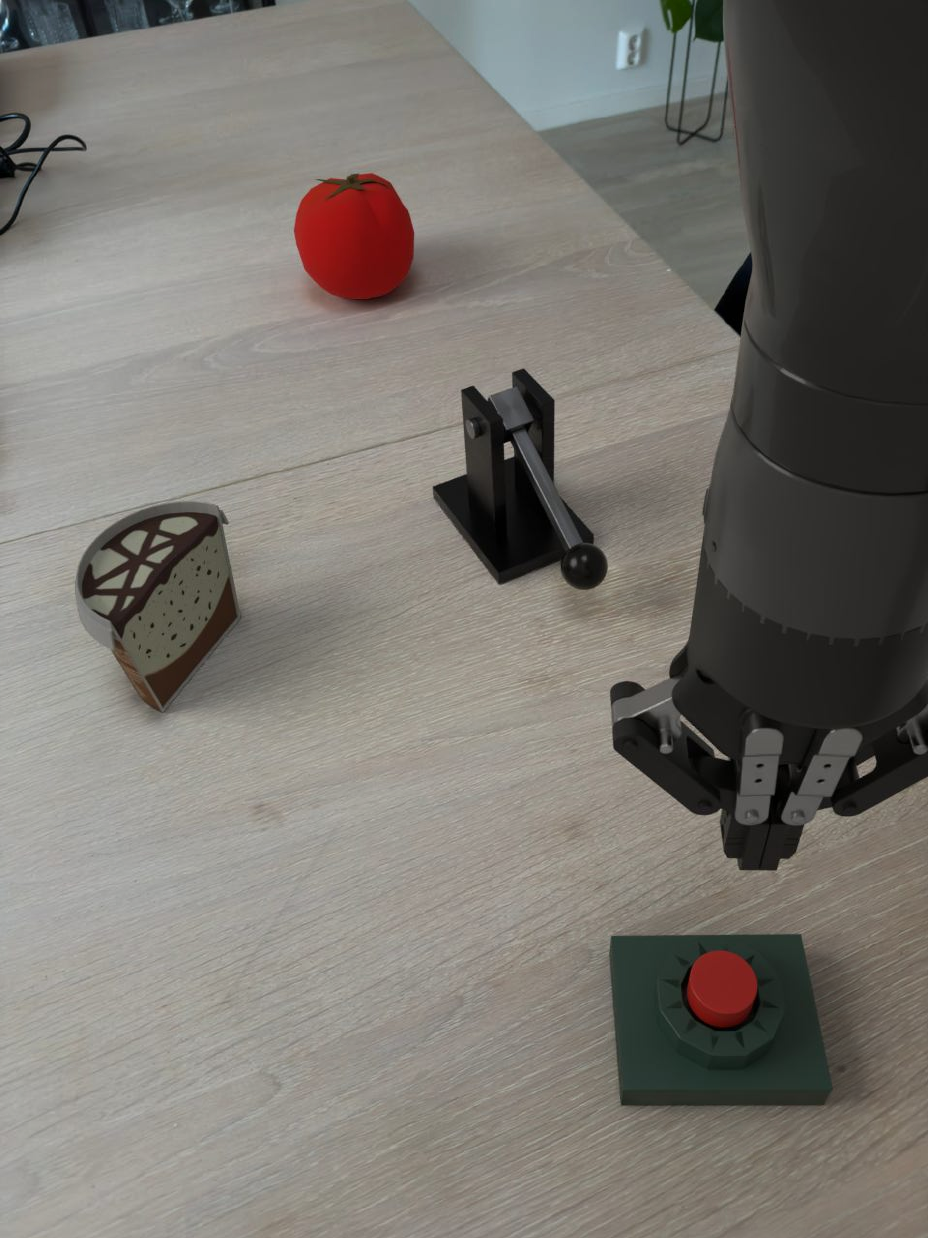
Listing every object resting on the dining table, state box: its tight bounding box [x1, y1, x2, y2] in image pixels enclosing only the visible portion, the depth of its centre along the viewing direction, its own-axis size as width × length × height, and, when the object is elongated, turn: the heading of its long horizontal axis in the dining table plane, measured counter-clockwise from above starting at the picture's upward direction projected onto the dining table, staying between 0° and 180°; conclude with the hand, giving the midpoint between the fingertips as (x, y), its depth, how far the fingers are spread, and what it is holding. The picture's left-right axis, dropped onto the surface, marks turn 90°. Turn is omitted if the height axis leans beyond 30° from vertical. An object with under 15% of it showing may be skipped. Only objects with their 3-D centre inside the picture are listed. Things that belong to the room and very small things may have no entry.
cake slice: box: [74, 500, 242, 714], centre depth 73 cm, size 12×6×10 cm, turn 154°
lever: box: [486, 386, 609, 591], centre depth 75 cm, size 15×3×3 cm, turn 27°
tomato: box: [293, 172, 415, 300], centre depth 104 cm, size 12×12×11 cm
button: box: [687, 951, 757, 1028], centre depth 54 cm, size 3×3×2 cm
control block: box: [608, 933, 834, 1106], centre depth 55 cm, size 10×8×4 cm
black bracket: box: [432, 367, 595, 585], centre depth 79 cm, size 11×8×12 cm
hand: (754, 851), depth 45 cm, fingers closed
